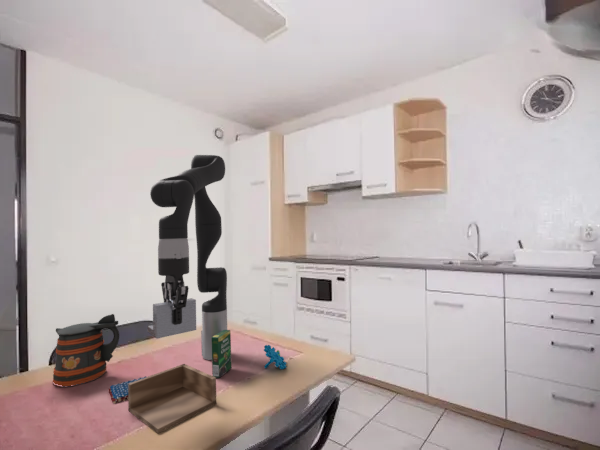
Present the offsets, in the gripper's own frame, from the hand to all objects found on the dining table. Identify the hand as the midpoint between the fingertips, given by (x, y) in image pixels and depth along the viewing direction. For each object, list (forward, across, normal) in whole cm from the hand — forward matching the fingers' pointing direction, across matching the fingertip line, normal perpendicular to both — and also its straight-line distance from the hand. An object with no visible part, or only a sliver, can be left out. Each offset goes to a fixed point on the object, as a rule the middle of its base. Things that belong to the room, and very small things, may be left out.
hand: (174, 322), depth 83 cm
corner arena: (+23, -3, 0) cm, 23 cm away
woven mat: (+24, -22, -6) cm, 33 cm away
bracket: (+3, -2, 0) cm, 4 cm away
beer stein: (+23, -44, -14) cm, 51 cm away
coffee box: (+23, -14, +20) cm, 33 cm away
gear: (+23, -5, +35) cm, 42 cm away
